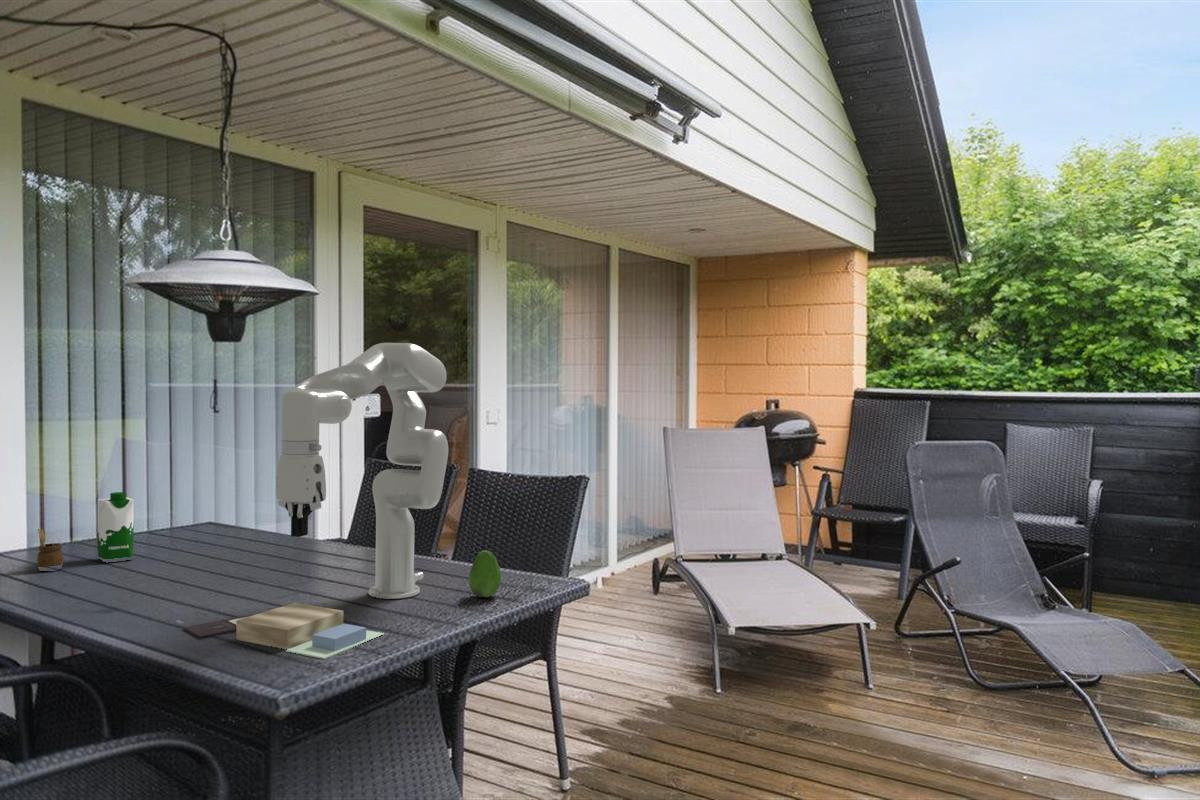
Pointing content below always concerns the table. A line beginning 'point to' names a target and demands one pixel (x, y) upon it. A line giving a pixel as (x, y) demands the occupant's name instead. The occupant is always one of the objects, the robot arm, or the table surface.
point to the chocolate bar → (214, 627)
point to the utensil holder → (49, 552)
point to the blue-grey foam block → (339, 637)
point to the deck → (287, 625)
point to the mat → (324, 653)
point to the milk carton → (115, 526)
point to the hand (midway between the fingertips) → (299, 535)
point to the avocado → (485, 575)
